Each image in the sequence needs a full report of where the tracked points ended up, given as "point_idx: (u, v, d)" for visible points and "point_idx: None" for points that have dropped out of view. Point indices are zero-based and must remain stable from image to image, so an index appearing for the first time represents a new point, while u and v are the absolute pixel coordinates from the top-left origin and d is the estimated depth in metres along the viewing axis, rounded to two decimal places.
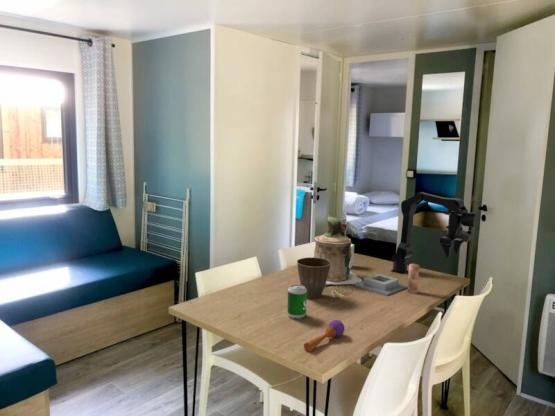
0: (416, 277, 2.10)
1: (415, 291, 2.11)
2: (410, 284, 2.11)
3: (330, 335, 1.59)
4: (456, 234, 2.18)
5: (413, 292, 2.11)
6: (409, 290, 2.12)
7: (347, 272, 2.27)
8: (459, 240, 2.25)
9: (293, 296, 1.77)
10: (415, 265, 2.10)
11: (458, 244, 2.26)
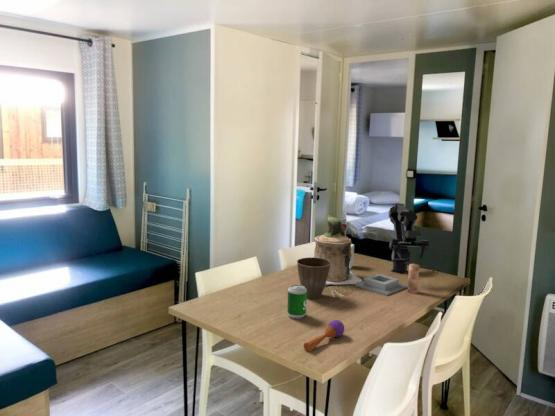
0: (416, 277, 2.10)
1: (415, 291, 2.11)
2: (410, 284, 2.11)
3: (330, 335, 1.59)
4: (404, 236, 2.23)
5: (413, 292, 2.11)
6: (409, 290, 2.12)
7: (347, 272, 2.27)
8: (421, 246, 2.22)
9: (293, 296, 1.77)
10: (415, 265, 2.10)
11: (420, 250, 2.21)
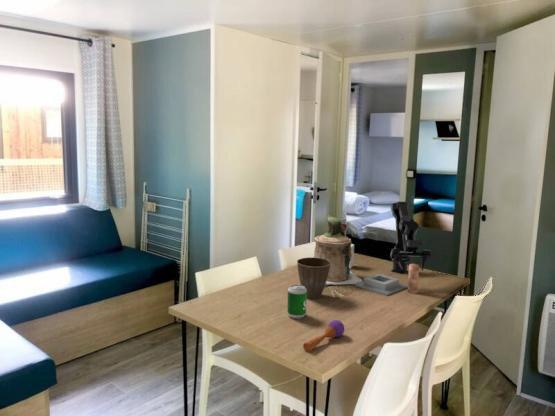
0: (416, 277, 2.10)
1: (415, 291, 2.11)
2: (410, 284, 2.11)
3: (330, 335, 1.59)
4: (405, 246, 2.19)
5: (413, 292, 2.11)
6: (409, 290, 2.12)
7: (347, 272, 2.27)
8: None
9: (293, 296, 1.77)
10: (415, 265, 2.10)
11: (422, 260, 2.16)
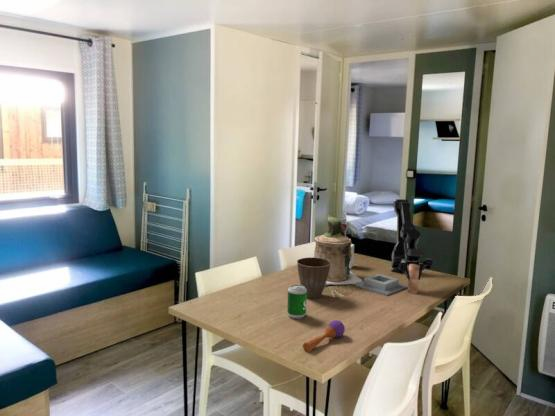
0: (416, 277, 2.10)
1: (415, 291, 2.11)
2: (410, 284, 2.11)
3: (330, 335, 1.59)
4: (406, 254, 2.15)
5: (413, 292, 2.11)
6: (409, 290, 2.12)
7: (347, 272, 2.27)
8: None
9: (293, 296, 1.77)
10: (415, 265, 2.10)
11: (419, 269, 2.13)
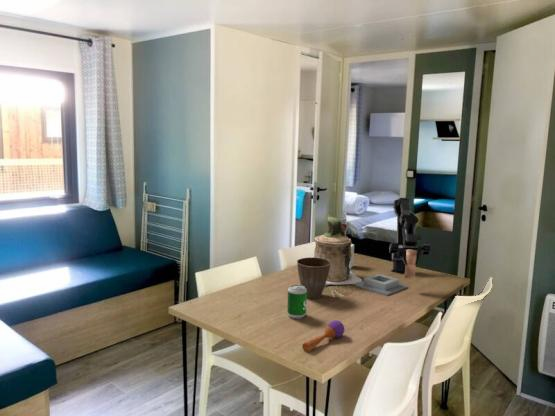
0: (413, 262, 2.09)
1: (412, 276, 2.10)
2: (407, 269, 2.10)
3: (329, 336, 1.59)
4: (404, 240, 2.15)
5: (410, 277, 2.10)
6: (406, 275, 2.11)
7: (347, 272, 2.27)
8: (417, 251, 2.13)
9: (293, 296, 1.77)
10: (412, 251, 2.09)
11: (416, 255, 2.12)
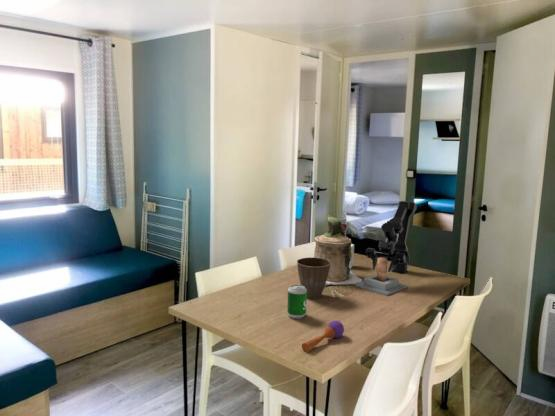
0: (382, 270, 2.16)
1: None
2: (377, 276, 2.18)
3: (329, 336, 1.59)
4: None
5: None
6: None
7: (347, 272, 2.27)
8: None
9: (293, 296, 1.77)
10: (382, 259, 2.16)
11: None
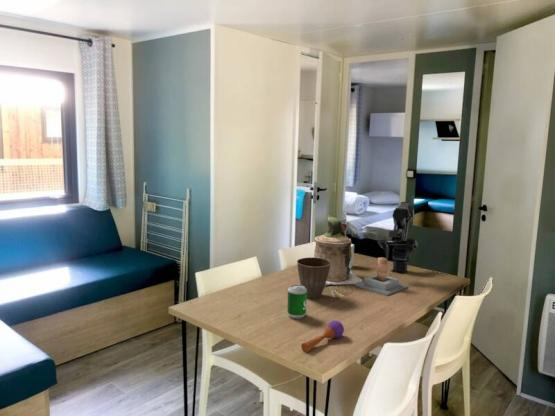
0: (382, 270, 2.16)
1: None
2: (377, 276, 2.18)
3: (329, 336, 1.58)
4: None
5: None
6: None
7: (347, 272, 2.27)
8: None
9: (293, 296, 1.77)
10: (382, 259, 2.16)
11: None
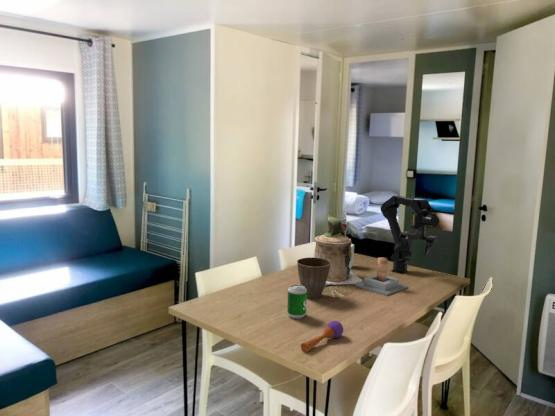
0: (382, 270, 2.16)
1: None
2: (377, 276, 2.18)
3: (328, 336, 1.58)
4: None
5: None
6: None
7: (347, 272, 2.27)
8: None
9: (293, 296, 1.77)
10: (382, 259, 2.16)
11: None
